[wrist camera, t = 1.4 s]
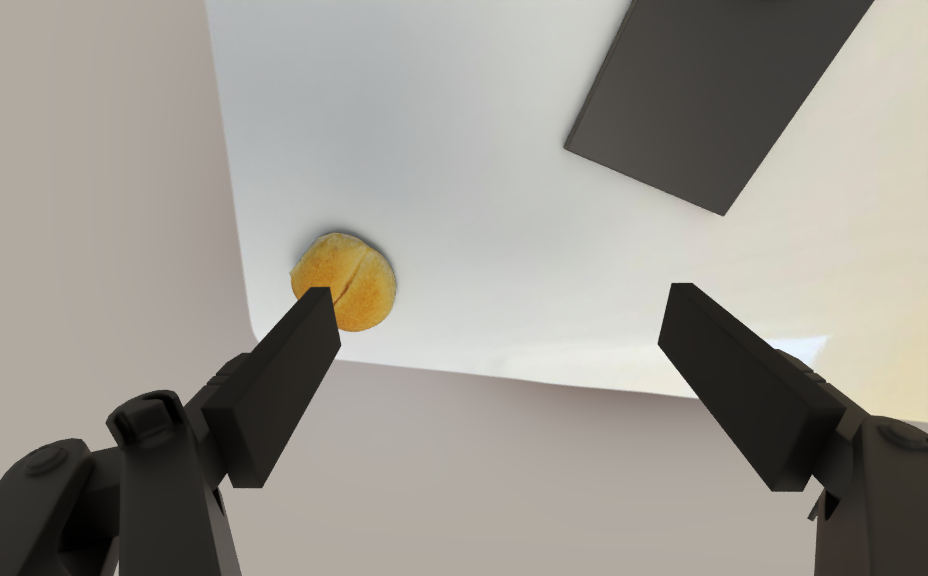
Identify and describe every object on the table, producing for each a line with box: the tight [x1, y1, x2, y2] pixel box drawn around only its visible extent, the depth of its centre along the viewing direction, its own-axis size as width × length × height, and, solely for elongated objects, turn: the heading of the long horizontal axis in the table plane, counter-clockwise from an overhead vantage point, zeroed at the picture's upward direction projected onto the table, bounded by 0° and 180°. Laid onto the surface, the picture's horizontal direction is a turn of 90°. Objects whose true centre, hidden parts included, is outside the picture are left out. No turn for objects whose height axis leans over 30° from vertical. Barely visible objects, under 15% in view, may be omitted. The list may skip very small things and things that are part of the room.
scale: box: [564, 0, 874, 216], centre depth 25 cm, size 18×14×3 cm
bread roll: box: [290, 233, 396, 332], centre depth 33 cm, size 8×9×4 cm
